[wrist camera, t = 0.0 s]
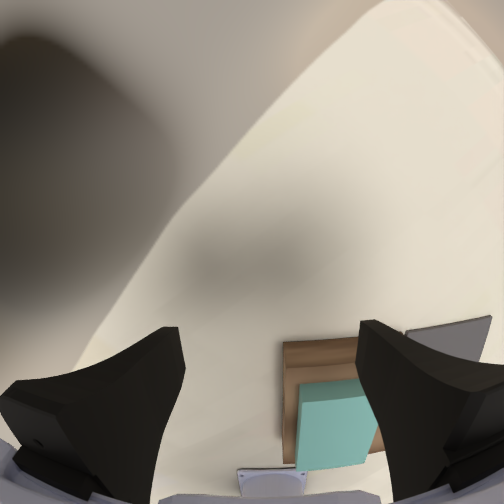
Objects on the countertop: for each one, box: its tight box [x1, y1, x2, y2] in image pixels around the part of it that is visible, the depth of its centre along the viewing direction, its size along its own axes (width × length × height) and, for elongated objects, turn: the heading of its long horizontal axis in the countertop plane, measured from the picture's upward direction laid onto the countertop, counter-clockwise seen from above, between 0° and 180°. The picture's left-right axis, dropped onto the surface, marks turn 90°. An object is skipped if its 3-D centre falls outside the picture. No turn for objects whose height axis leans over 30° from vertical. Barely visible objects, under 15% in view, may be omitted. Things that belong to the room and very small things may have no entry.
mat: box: [405, 315, 492, 362], centre depth 23 cm, size 12×10×1 cm
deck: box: [282, 332, 403, 464], centre depth 22 cm, size 12×10×4 cm
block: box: [295, 378, 378, 472], centre depth 19 cm, size 9×6×2 cm, turn 3°
